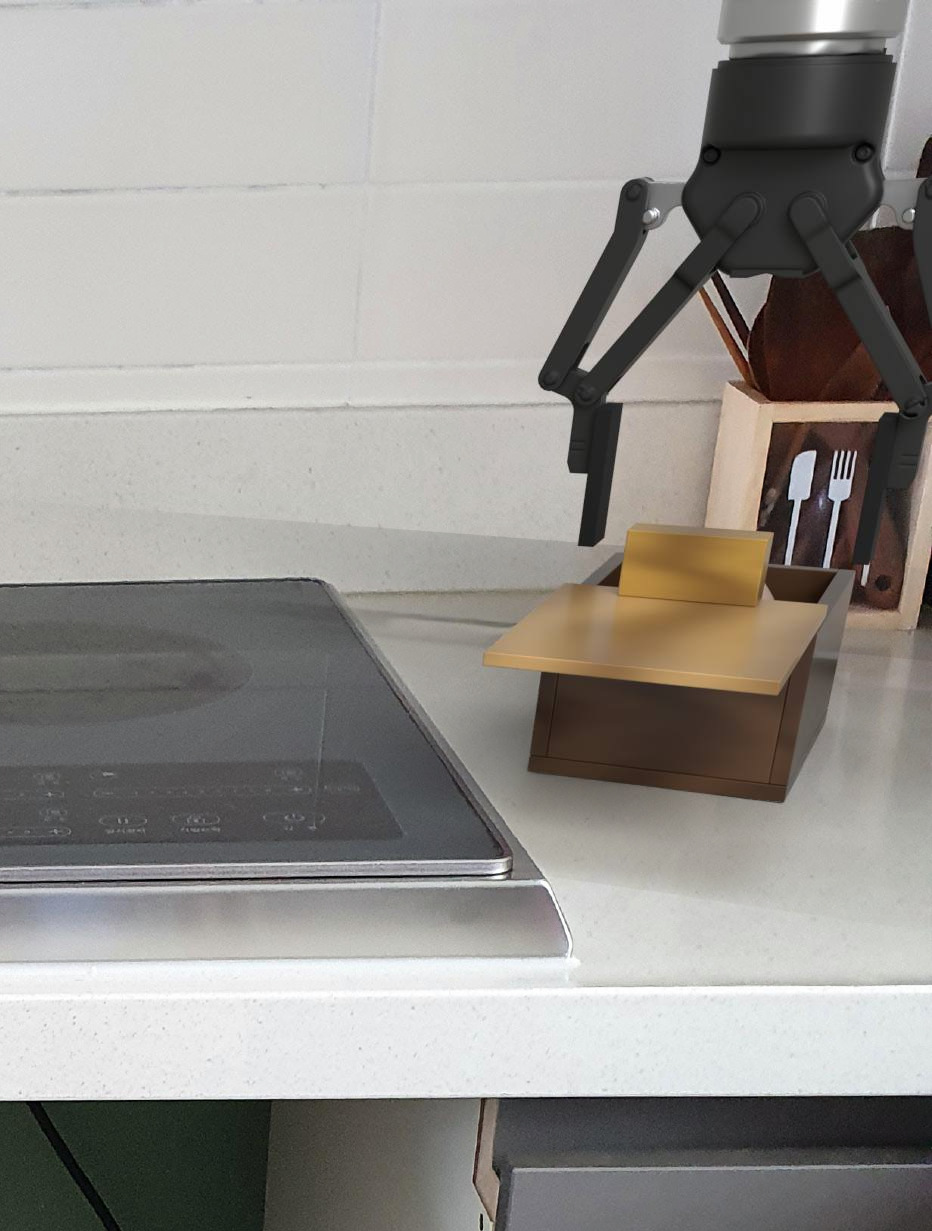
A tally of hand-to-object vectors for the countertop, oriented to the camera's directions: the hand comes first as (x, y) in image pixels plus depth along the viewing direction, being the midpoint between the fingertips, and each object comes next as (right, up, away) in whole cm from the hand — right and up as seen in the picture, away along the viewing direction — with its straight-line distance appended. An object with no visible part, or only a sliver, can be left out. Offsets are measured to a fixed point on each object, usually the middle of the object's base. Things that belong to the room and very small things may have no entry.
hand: (723, 551), depth 102 cm
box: (-1, -9, +3) cm, 9 cm away
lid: (-7, -7, -10) cm, 15 cm away
